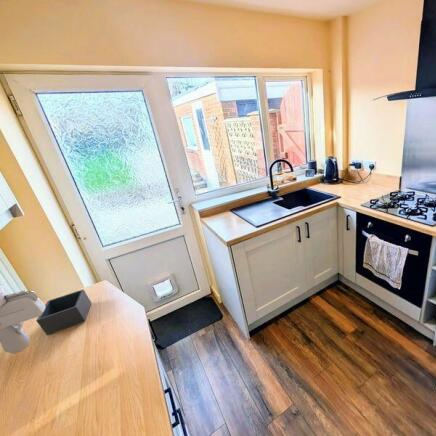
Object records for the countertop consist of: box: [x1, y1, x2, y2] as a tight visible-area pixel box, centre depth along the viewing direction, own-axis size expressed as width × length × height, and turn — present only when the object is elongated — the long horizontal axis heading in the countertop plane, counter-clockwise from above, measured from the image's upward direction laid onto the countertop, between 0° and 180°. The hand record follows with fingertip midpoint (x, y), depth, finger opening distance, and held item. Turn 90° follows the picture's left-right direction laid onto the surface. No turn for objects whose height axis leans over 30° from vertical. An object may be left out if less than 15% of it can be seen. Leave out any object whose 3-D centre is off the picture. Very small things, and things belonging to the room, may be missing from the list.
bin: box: [36, 289, 92, 336], centre depth 103 cm, size 13×13×8 cm
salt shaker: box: [0, 322, 31, 355], centre depth 74 cm, size 6×6×13 cm
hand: (11, 336), depth 75 cm, fingers closed on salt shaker, 3 cm apart
